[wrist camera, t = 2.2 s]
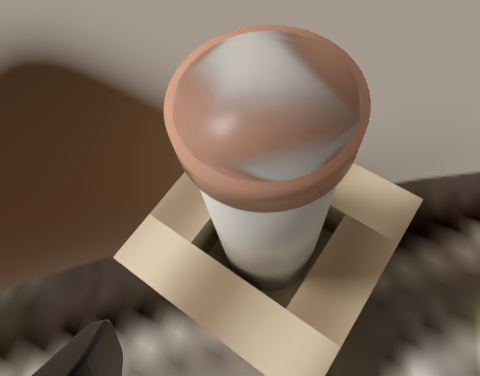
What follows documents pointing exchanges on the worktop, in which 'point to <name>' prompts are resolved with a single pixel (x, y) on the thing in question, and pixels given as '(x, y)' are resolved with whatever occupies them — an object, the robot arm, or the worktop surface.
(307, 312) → the beige square frame
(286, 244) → the white pink cylinder
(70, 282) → the worktop surface
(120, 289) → the worktop surface
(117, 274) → the worktop surface
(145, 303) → the worktop surface
